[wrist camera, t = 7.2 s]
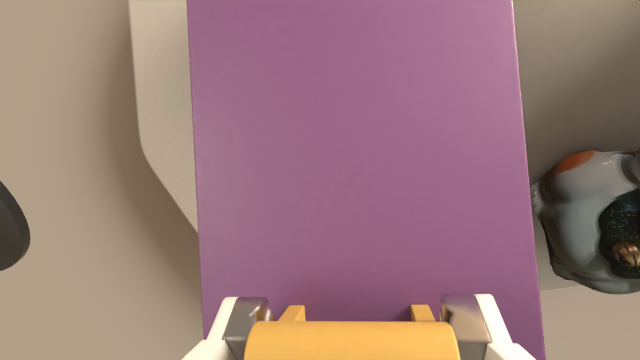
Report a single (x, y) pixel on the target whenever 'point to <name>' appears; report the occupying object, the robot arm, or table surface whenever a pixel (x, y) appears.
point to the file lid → (361, 172)
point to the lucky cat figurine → (593, 219)
